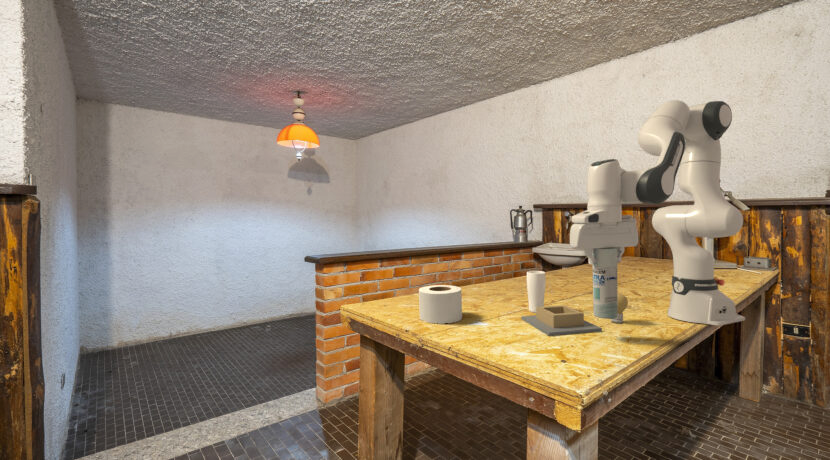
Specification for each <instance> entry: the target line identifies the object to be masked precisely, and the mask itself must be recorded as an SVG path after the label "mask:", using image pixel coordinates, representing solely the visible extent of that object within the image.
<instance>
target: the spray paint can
mask: <svg viewBox="0 0 830 460" xmlns="http://www.w3.org/2000/svg"><path fill="white" fill-rule="evenodd" d="M592 255H593V257H594V258H597V261H596V262H597V264H592V303H593V306H592V307H593V309H592V310H593V316H594V317H595V318H598V319H604V320H605V319H606V320H610V319H614V318H617V293H618V263H617V248H598V249H593V253H592Z"/></svg>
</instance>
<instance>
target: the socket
mask: <svg viewBox="0 0 830 460" xmlns="http://www.w3.org/2000/svg"><path fill="white" fill-rule="evenodd" d="M535 314H536V315H523V316H522V315H521V318H520V319H521V320H522V321H524V322H526V323H527V324H529V325H530V326H532V327H534V328H535V329H537V330H538V331H541V332H542V333H544V334H545V335H547V336H548V337H551V336H566V335H574V334H575V335H576V334H577V335H578V334H587V333H598V332H603V328H602V327H601V326H598V325H596V324H593V323H591V322H590V321H587V320H585V316H584V315H585V314H584V312H582V311H580V310H577V309H574V308H573V307H571V306H568V305H565V304H563V305H546V306H544V307H536V313H535Z"/></svg>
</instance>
